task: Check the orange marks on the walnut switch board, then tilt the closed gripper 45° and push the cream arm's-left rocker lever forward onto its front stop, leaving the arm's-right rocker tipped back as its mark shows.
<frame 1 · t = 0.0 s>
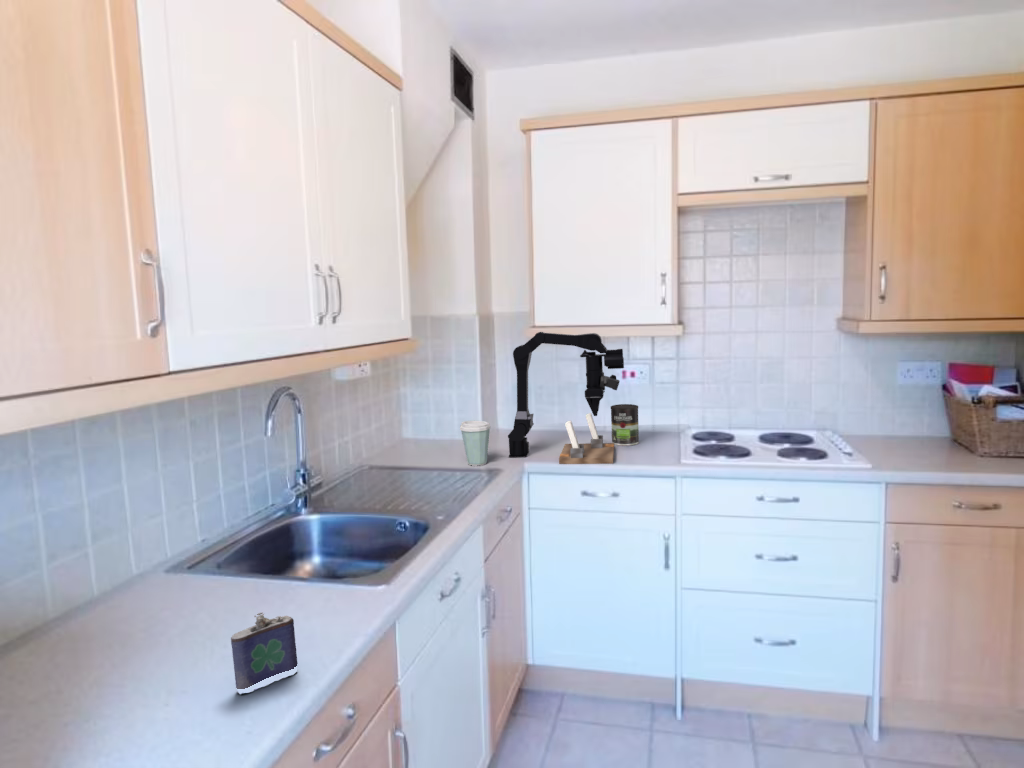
hand: (596, 413, 229), 15 cm above the worktop, tool pointing down, fingers open, 9 cm apart
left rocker: (593, 429, 235), point 8 cm above the worktop, hinge at -15.0°
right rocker: (573, 438, 223), point 8 cm above the worktop, hinge at -15.0°
flask: (268, 682, 99), on the worktop
coffee can: (625, 443, 247), on the worktop
switch board: (587, 455, 230), on the worktop
disposable coffee cup: (477, 464, 227), on the worktop
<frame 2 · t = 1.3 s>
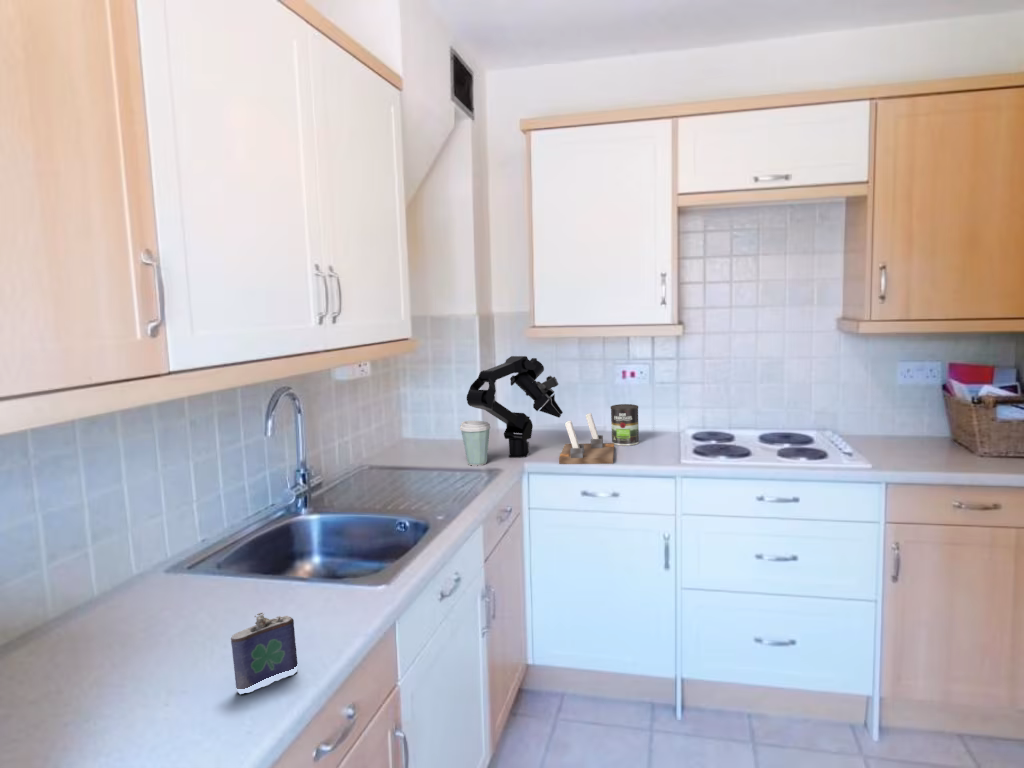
hand: (561, 415, 236), 14 cm above the worktop, tool tilted 45°, fingers open, 6 cm apart
nothing on the worktop moved.
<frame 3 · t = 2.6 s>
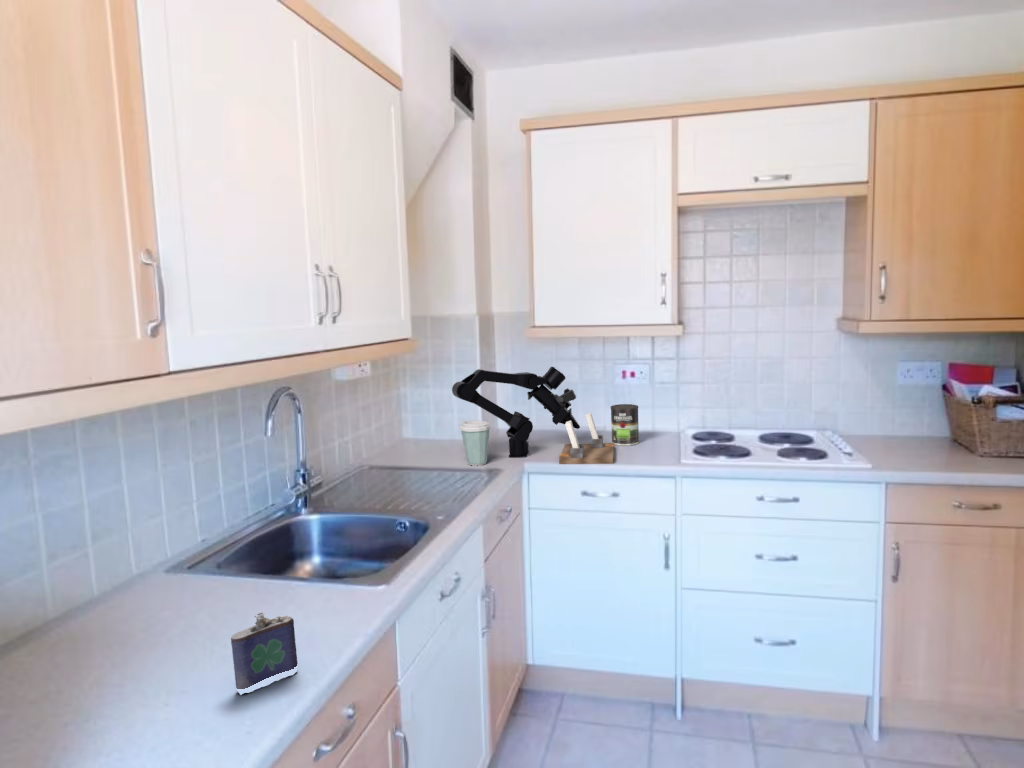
hand: (579, 427, 236), 9 cm above the worktop, tool tilted 45°, fingers closed
nothing on the worktop moved.
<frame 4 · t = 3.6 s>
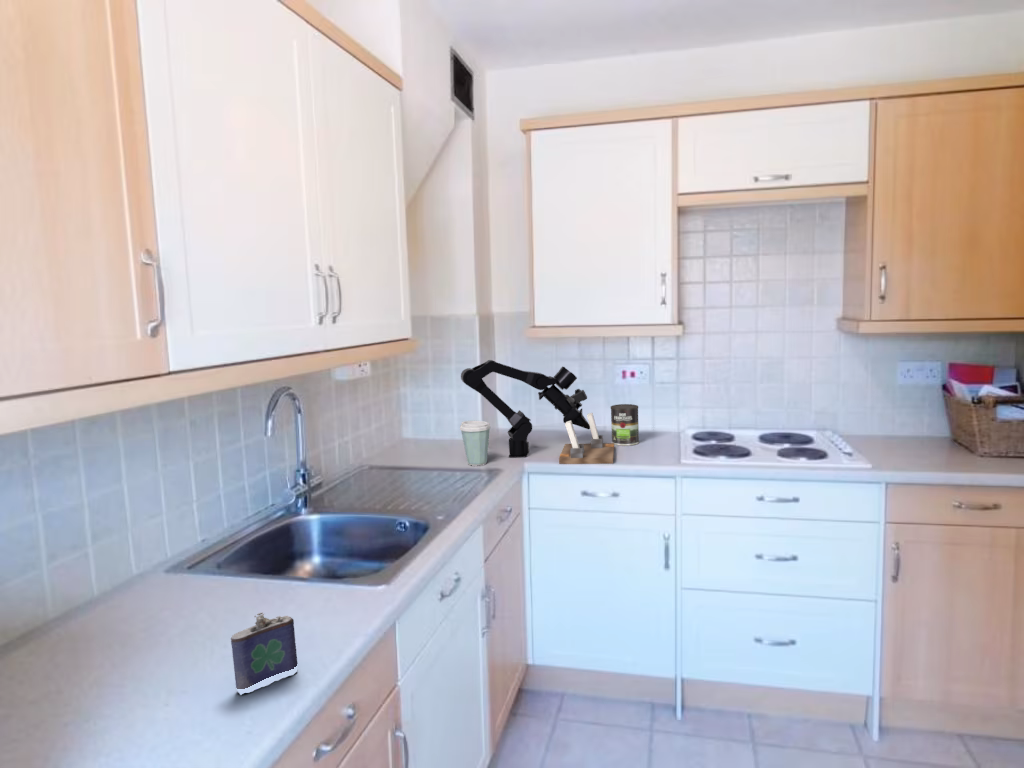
hand: (590, 428, 235), 8 cm above the worktop, tool tilted 45°, fingers closed, pressing on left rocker
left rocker: (593, 429, 235), point 8 cm above the worktop, hinge at -12.1°, touching gripper
everything else where it was.
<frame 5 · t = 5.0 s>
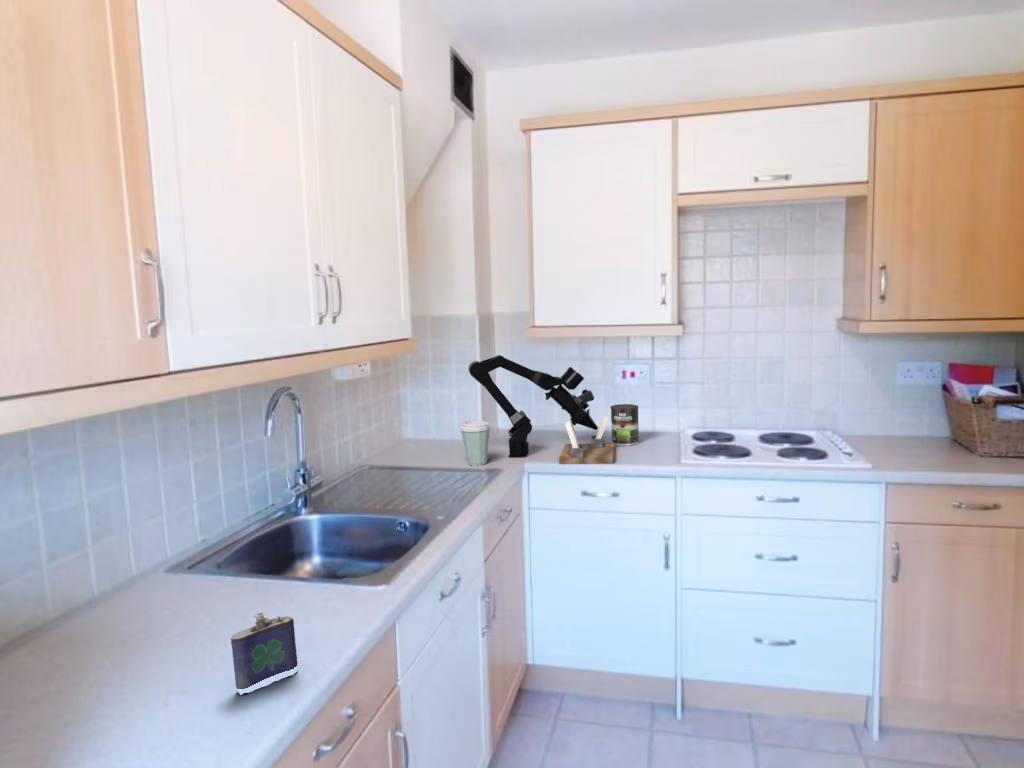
hand: (597, 429, 235), 8 cm above the worktop, tool tilted 45°, fingers closed
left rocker: (601, 430, 235), point 8 cm above the worktop, hinge at 21.5°
everything else where it was.
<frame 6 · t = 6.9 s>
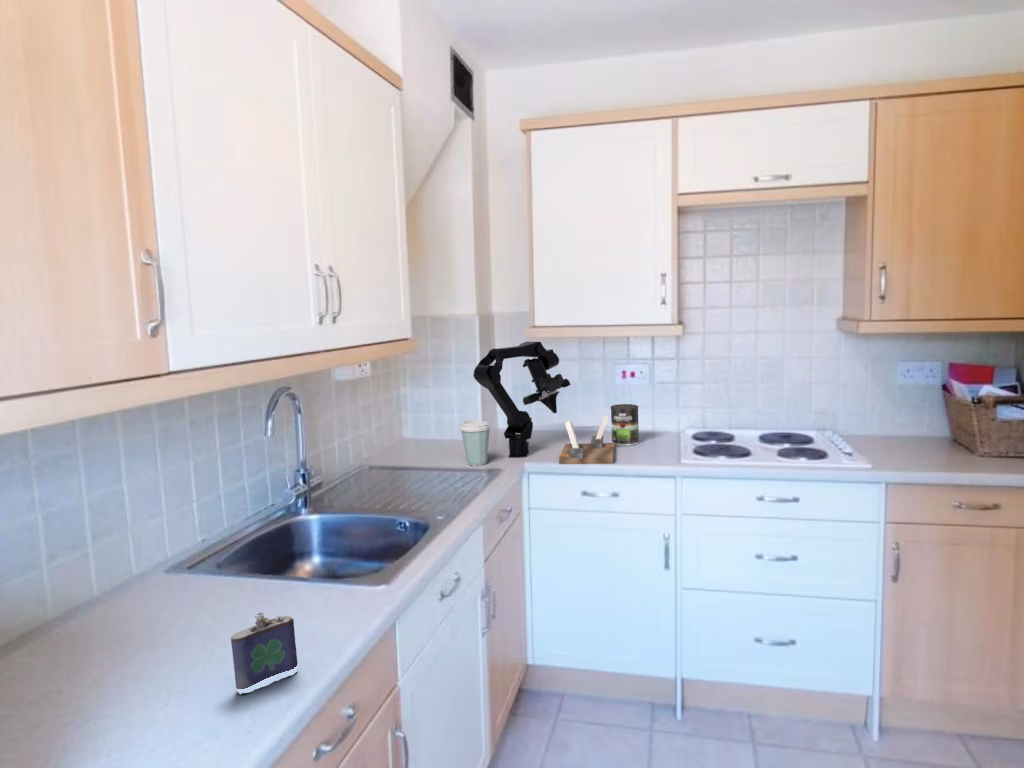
hand: (555, 413, 242), 14 cm above the worktop, tool tilted 20°, fingers closed
nothing on the worktop moved.
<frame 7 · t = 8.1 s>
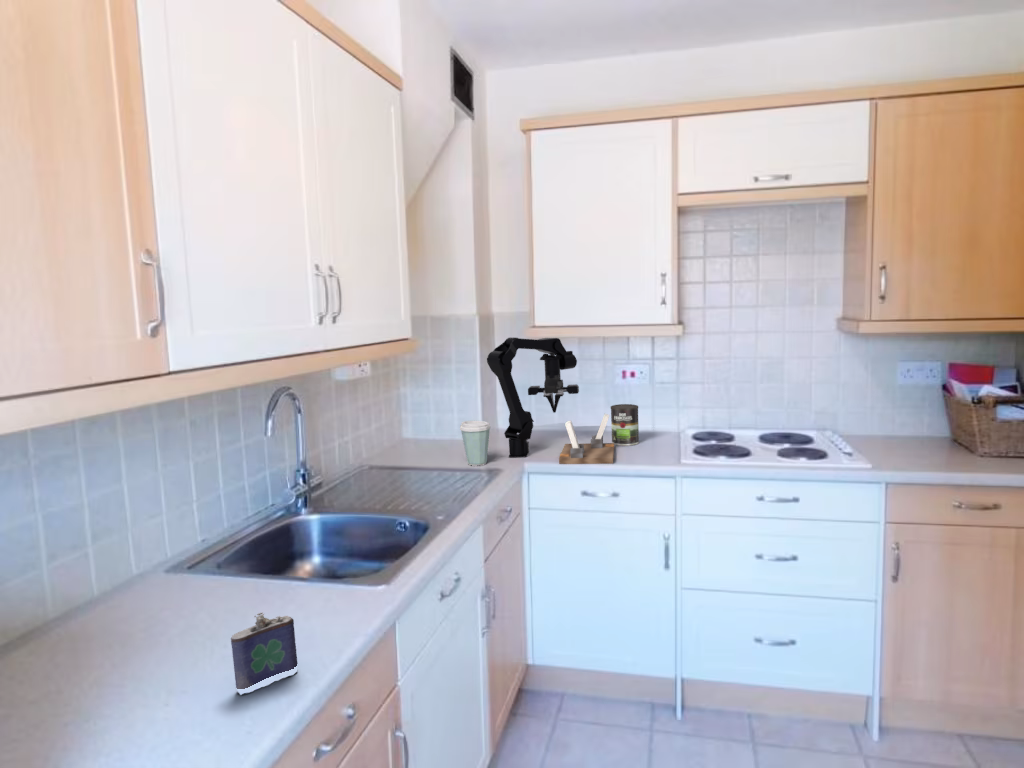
hand: (554, 412, 246), 13 cm above the worktop, tool pointing down, fingers closed
nothing on the worktop moved.
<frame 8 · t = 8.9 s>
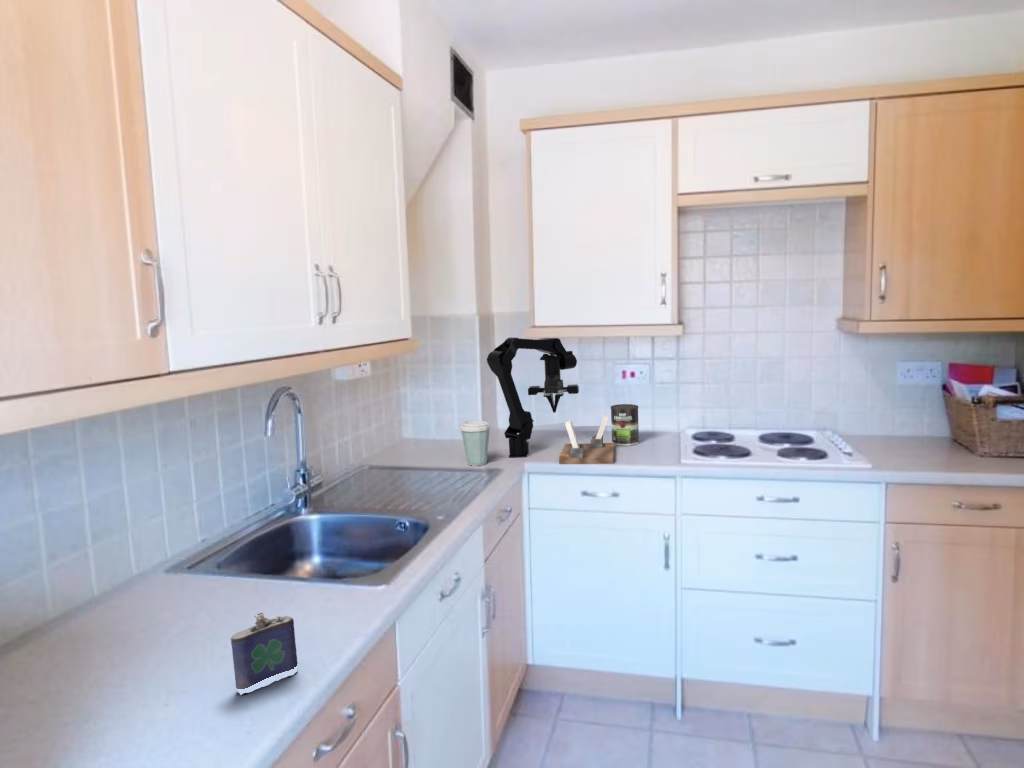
hand: (554, 412, 246), 13 cm above the worktop, tool pointing down, fingers closed
nothing on the worktop moved.
at the end: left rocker at +22° (first picture: -15°); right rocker at -15° (first picture: -15°) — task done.
